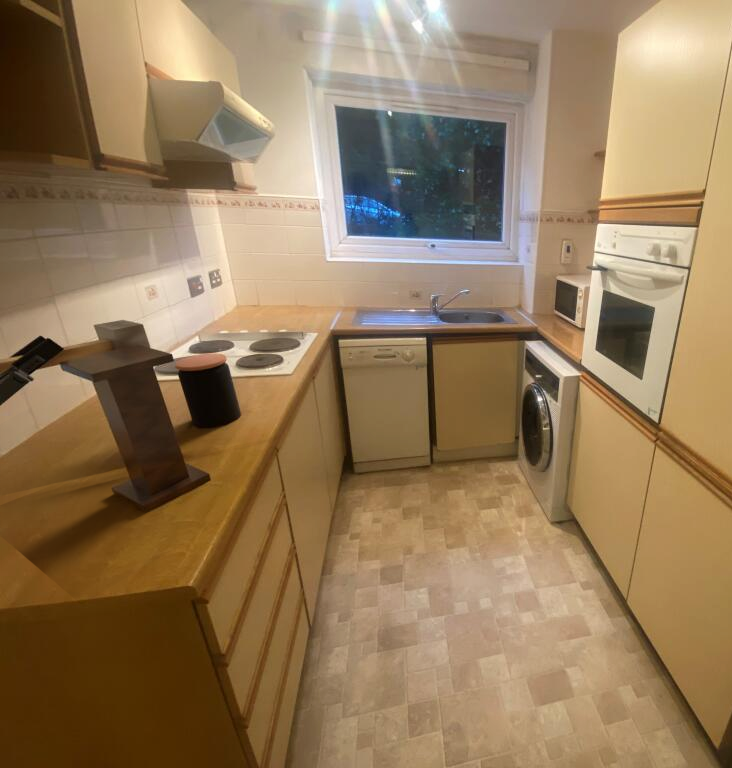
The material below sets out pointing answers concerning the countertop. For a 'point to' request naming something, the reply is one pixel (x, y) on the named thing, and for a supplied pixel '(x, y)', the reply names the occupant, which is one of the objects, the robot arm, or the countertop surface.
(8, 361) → the mallet
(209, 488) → the countertop surface
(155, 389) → the stand
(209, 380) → the coffee jar
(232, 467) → the countertop surface
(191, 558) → the countertop surface
